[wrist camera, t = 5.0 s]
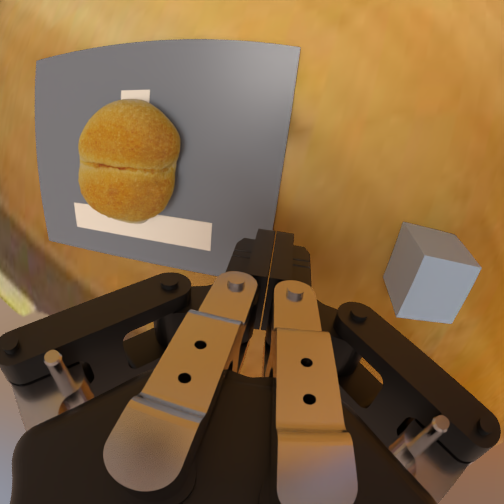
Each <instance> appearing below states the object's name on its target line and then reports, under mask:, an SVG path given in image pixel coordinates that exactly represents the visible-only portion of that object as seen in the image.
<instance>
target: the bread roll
mask: <svg viewBox="0 0 504 504" xmlns="http://www.w3.org/2000/svg"><path fill="white" fill-rule="evenodd" d="M78 150H79V156H80V167H79V179H78V182H79V185H80V190H81V194H82V195H83V197H84V199H85V200H86V202H87V203H88V204H89V205H90V206H91V207H92V208H93V209H94V210H96V211H97V212H99V213H101V214H103V215H105V216H107V217H108V218H113V219H115V220H118V221H123V222H127V223H131V224H132V223H134V224H142V223H144V222H146V221H147V220H148V219H150V218H152V217H155V216H156V215H158V214H159V213H161V212H162V211H163V210H164V209H165V207H166V206H167V204H168V202H169V200H170V198H171V196H172V194H173V190H174V186H175V170H176V163H177V160H178V157H179V153H180V135H179V133H178V131H177V129H176V128H175V126H174V125H173V123H172V122H171V121H170V120H169V119H168V118H167V117H166V116H165V114H164V113H163V112H161V111H160V110H159V109H158V108H156V107H155V106H154V105H152V104H150V103H148V102H146V101H144V100H140V99H122V100H117V101H114V102H111V103H109V104H107V105H105V106H104V107H102V108H101V109H100V110H98V111H97V112H96V113H95V114H94V115H93V116H92V117H91V118H90V119H89V121H88V122H87V124H86V125H85V127H84V129H83V131H82V133H81V135H80V138H79V143H78Z"/></svg>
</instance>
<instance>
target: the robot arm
mask: <svg viewBox="0 0 504 504" xmlns="http://www.w3.org/2000/svg"><path fill="white" fill-rule="evenodd" d="M274 237H275V231H272V230H266V229H259V228H258V231H257V235H256V238H255V239H249V238H243V239H242V240H240V241H239V242H237V244H236V246H235V249H234V251H233V254H232V256H231V259H230V262H229V264H228V267H227V269H226V272H225V273H222V274H220V275H219V276H218V277H217V278H216V280H215V281H214V283H213V284H212V285H208V286H193V287H191V282H190V280H189V279H188V278H187V277H186V276H184V275H182V274H179V273H162V274H159V275H156V276H154V277H151V278H148V279H146V280H143V281H140V282H138V283H135V284H132V285H130V286H127V287H124V288H122V289H119V290H116V291H114V292H111V293H108V294H106V295H103V296H100V297H98V298H95V299H92V300H90V301H87V302H84V303H82V304H79V305H77V306H74V307H71V308H69V309H66V310H63V311H61V312H58V313H56V314H53V315H50V316H48V317H45V318H43V319H40V320H38V321H35V322H32V323H30V324H27V325H25V326H22V327H19V328H17V329H14V330H12V331H9V332H7V333H5V334H3V335H2V336H1V337H0V368H1V370H2V372H3V373H4V375H5V378H6V379H7V381H8V382H9V384H10V385H11V387H12V388H13V392H14V395H15V399H16V402H17V405H18V408H19V412H20V415H21V417H22V421H23V424H24V426H25V430H26V432H25V433H24V435H23V436H22V437H21V438H20V440H19V441H18V443H17V445H16V447H15V450H14V453H13V458H12V477H13V480H12V495H11V501H10V504H438V503H439V502H440V500H441V499H442V498H443V497H444V496H445V494H446V493H447V492H448V491H449V490H450V488H451V487H452V486H453V485H454V483H455V482H456V481H457V479H458V478H459V477H460V475H461V474H462V473H463V471H464V470H465V469H466V467H467V466H469V465H470V464H471V463H473V462H474V461H475V460H477V459H478V458H479V457H481V456H482V455H483V454H484V453H486V452H487V451H488V450H489V449H491V448H492V447H493V446H494V445H495V444H496V443H497V442H498V440H499V438H500V434H501V430H500V425H499V422H498V420H497V418H496V417H495V415H494V414H493V413H492V412H490V411H489V410H488V409H487V408H486V407H485V406H484V405H483V404H482V403H481V402H479V401H478V400H477V399H476V398H475V397H474V396H473V395H472V394H470V393H469V392H468V391H467V390H466V389H465V388H464V387H463V386H461V385H460V384H459V383H458V382H457V381H456V380H455V379H454V378H452V377H451V376H450V375H449V374H448V373H447V372H445V371H444V370H443V369H442V368H441V367H440V366H439V365H437V364H436V363H435V362H434V361H433V360H432V359H430V358H429V357H428V356H427V355H426V354H425V353H423V352H422V351H421V350H420V349H419V348H418V347H416V346H415V345H414V344H413V343H412V342H411V341H409V340H408V339H407V338H406V337H405V336H403V335H402V334H401V333H400V332H399V331H397V330H396V329H395V328H394V327H393V326H391V325H390V324H389V323H388V322H387V321H385V320H384V319H383V318H382V317H381V316H379V315H378V314H377V313H376V312H375V311H373V310H372V309H371V308H369V307H368V306H366V305H364V304H361V303H357V302H347V303H344V304H342V305H341V306H340V307H339V308H338V310H337V309H334V308H331V307H329V306H326V305H324V304H322V303H321V302H319V301H318V300H317V299H316V294H315V291H314V290H313V289H312V288H311V268H310V254H309V252H308V251H307V250H306V248H305V247H301V246H294V245H293V244H294V234H292V233H285V232H279V231H277V234H276V240H275V247H274V253H273V259H272V266H271V272H270V278H269V284H268V290H267V297H266V303H265V309H264V315H263V321H262V326H261V330H266V337H265V342H264V347H263V366H262V377H256V378H251V377H247V376H244V375H241V374H240V371H241V368H242V365H243V362H244V359H245V356H246V353H247V349H248V346H249V341H250V338H251V337H252V334H253V329H259V327H260V322H261V316H262V310H263V304H264V299H265V293H266V287H267V281H268V275H269V269H270V263H271V256H272V250H273V243H274ZM153 321H154V328H152V329H150V330H148V331H146V332H143V333H141V334H139V335H137V336H135V337H132V338H130V339H128V340H125V341H123V339H124V337H125V335H126V334H127V333H129V332H130V331H133V330H135V329H137V328H139V327H142V326H144V325H146V324H149V323H151V322H153ZM362 357H363V358H364V359H365V360H366V361H367V362H368V363H369V364H370V365H371V366H372V367H373V368H374V369H375V370H376V371H377V372H378V373H379V374H380V375H381V377H382V379H383V385H382V384H381V383H380V382H379V381H378V380H377V379H376V378H375V377H374V376H373V375H372V374H371V373H370V372H369V371H368V370H367V369H366V368H365V367H364V366H363V365H362V364H361V363H360V360H361V358H362Z"/></svg>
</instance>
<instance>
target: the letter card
mask: <svg viewBox="0 0 504 504" xmlns="http://www.w3.org/2000/svg"><path fill="white" fill-rule="evenodd" d="M299 55H300V47H295V46H288V45H280V44H272V43H262V42H251V41H237V40H212V39H184V40H160V41H146V42H135V43H126V44H117V45H110V46H103V47H97V48H91V49H86V50H80V51H75V52H70V53H66V54H61V55H57V56H53V57H49V58H45V59H41V60H38V61H37V62H36V79H35V132H36V149H37V162H38V172H39V181H40V189H41V196H42V203H43V209H44V215H45V220H46V226H47V231H48V236H49V241H53V242H58V243H62V244H66V245H71V246H75V247H79V248H84V249H88V250H93V251H97V252H102V253H106V254H111V255H115V256H120V257H125V258H129V259H134V260H139V261H144V262H149V263H153V264H158V265H163V266H168V267H173V268H178V269H183V270H188V271H193V272H198V273H204V274H209V275H214V276H219V275H220V274H222V273H225V272H226V269H227V267H228V264H229V262H230V259H231V256H232V254H233V251H234V249H235V246H236V244H237V242H239V241H240V240H242V239H243V238H249V239H255V238H256V235H257V231H258V228H259V229H266V230H272V231H273V225H274V219H275V212H276V206H277V200H278V194H279V188H280V181H281V175H282V169H283V162H284V156H285V150H286V143H287V137H288V130H289V123H290V117H291V110H292V103H293V97H294V90H295V83H296V76H297V69H298V62H299ZM122 99H140V100H144V101H146V102H148V103H150V104H152V105H154V106H155V107H156V108H158V109H159V110H160V111H161V112H163V113H164V114H165V116H166V117H167V118H168V119H169V120H170V121H171V122H172V123H173V125H174V126H175V128H176V129H177V131H178V133H179V135H180V153H179V157H178V160H177V163H176V170H175V186H174V190H173V194H172V196H171V198H170V200H169V202H168V204H167V206H166V207H165V209H164V210H163V211H162V212H161V213H159V214H158V215H156V216H155V217H152V218H150V219H148V220H147V221H146V222H144V223H142V224H134V223H132V224H131V223H127V222H123V221H118V220H115V219H113V218H108V217H107V216H105V215H103V214H101V213H99V212H97V211H96V210H94V209H93V208H92V207H91V206H90V205H89V204H88V203H87V202H86V200H85V199H84V197H83V195H82V194H81V190H80V185H79V182H78V179H79V167H80V156H79V150H78V143H79V138H80V135H81V133H82V131H83V129H84V127H85V125H86V124H87V122H88V121H89V119H90V118H91V117H92V116H93V115H94V114H95V113H96V112H97V111H98V110H100V109H101V108H102V107H104V106H105V105H107V104H109V103H111V102H114V101H117V100H122Z"/></svg>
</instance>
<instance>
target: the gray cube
mask: <svg viewBox="0 0 504 504" xmlns="http://www.w3.org/2000/svg"><path fill="white" fill-rule="evenodd" d="M480 270H481V266H480V265H479V264H478V262H477V261H476V260H475V259H474V257H473V256H472V255H471V254H470V252H469V251H468V250H467V249H466V247H465V246H464V245H463V244H462V242H461V241H460V240H459V239H458V238H457V237H456V235H454V234H451V233H447V232H443V231H439V230H435V229H431V228H427V227H423V226H419V225H415V224H411V223H407V222H403V223H402V226H401V229H400V232H399V235H398V238H397V241H396V244H395V247H394V249H393V252H392V255H391V258H390V260H389V263H388V265H387V268H386V271H385V273H384V276H383V278H384V281H385V284H386V287H387V290H388V293H389V296H390V299H391V302H392V305H393V308H394V311H395V315H396V317H399V318H407V319H415V320H423V321H431V322H440V323H449V324H452V322H453V320H454V319H455V317H456V315H457V314H458V312H459V310H460V308H461V307H462V305H463V303H464V301H465V299H466V298H467V296H468V294H469V292H470V290H471V288H472V286H473V284H474V282H475V280H476V278H477V276H478V274H479V272H480Z"/></svg>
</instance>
